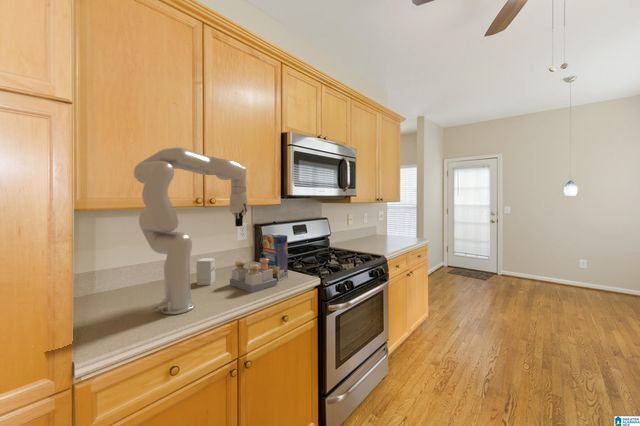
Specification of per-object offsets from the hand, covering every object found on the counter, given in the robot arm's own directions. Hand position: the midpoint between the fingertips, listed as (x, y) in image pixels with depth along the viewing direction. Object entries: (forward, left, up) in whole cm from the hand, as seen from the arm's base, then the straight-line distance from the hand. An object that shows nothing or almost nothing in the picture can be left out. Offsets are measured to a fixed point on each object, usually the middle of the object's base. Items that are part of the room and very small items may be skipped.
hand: (239, 226), depth 148 cm
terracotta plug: (+8, -10, -26) cm, 29 cm away
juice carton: (+20, -4, -31) cm, 37 cm away
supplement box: (-11, +15, -31) cm, 36 cm away
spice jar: (0, -12, -27) cm, 30 cm away
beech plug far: (0, 0, -27) cm, 27 cm away
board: (+4, -6, -31) cm, 31 cm away
